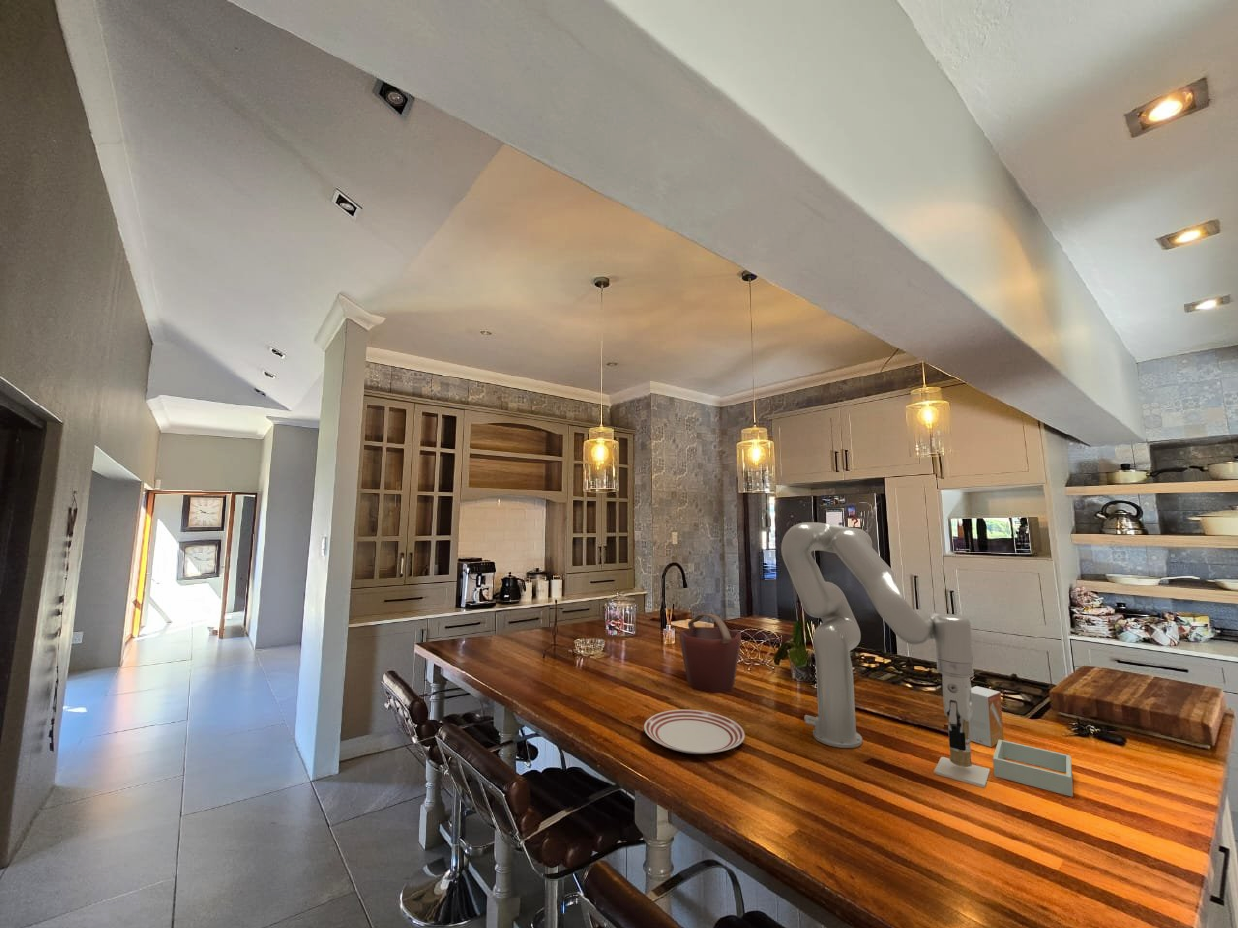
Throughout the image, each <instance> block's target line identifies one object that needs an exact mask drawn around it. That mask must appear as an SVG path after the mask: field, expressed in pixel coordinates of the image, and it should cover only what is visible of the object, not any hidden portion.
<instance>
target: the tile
mask: <svg viewBox="0 0 1238 928" xmlns="http://www.w3.org/2000/svg"><path fill="white" fill-rule="evenodd" d="M990 773H991V769H990V768H988V767H983V766H980V765H975V764H972V766H970V767H962V766H958V765H955V764H953V763H952V762H951V761H950V757H945V756H941V757H940V758H939V761H938V762H937V764H936V766H935V768H934V770H933V774H934V775H938V776H941V777H944V778H948V779H952V780H956V781H958V782H963V783H966V784H969V785H974V786H976V787H981V788H985V789H986V786H987V782H988V780H989V777H990Z"/></svg>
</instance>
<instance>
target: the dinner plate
mask: <svg viewBox="0 0 1238 928" xmlns="http://www.w3.org/2000/svg"><path fill="white" fill-rule="evenodd" d="M643 730H644V732H645V734H646V735H647V736H648V737H649V738H650V739H651V740H652V741H654V742H655V743H657V744H658V745H661V746H663V747H665V748H668V749H670V750H673V751H676V752H681V753H685V754H691V755H692V754H693V755H707V754H716V753H721V752H726V751H729V750H732V749H735V748H737V747H738V746H740V745H742V743H743V742H744V740H745V736H746V733H745V731H744V729H743V728H742V726H741V725H740V724H739V723H737V722H736V721H734V720H732V719H731V718H728V717H726V716H723V715H721V714H717V713H714V712H709V711H705V710H696V709H672V710H666V711H662V712H659V713H656V714H654V715H652V716H650V717H649V718H648V719H647V720H646V721H645V722H644V725H643Z"/></svg>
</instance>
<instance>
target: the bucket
mask: <svg viewBox="0 0 1238 928" xmlns="http://www.w3.org/2000/svg"><path fill="white" fill-rule="evenodd" d="M704 617H708V618H709V619H712V620H713V621H714V623H715V624H716V625H717V627H714V626H713V627H712V626H711V627H710V626H709V627H708V626H707V627H706V626H696V625H695V623H697V622H699V621H700V620H702V619H703V618H704ZM687 626H688V628H686V629H682V630H679V632H678V633H679V635H678V637H679V643H680V648H681V653H682V659H683V665H684V669H685V675H686V680H687V683H688V685H689V686H690V687H691V689H692V690H694V691H699V692H703V693H709V694H717V693H718V694H719V693H727V692H728V693H729V692H732V691H733V689H734V687H735V682H736V681H735V680H736V676H737V669H738V662H739V657H740V651H741V650H740V649H741V644H742V632H741V631H736V630H733V629H729V628H728V626H727V625H726V623H725V622H724V621H723V620H722V619H721V618H720V616H718V615H716V614H713V613H699V614H696V615H695V616H694V617H693V618H691V620H689V621H688V623H687Z"/></svg>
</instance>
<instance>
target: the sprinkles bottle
mask: <svg viewBox="0 0 1238 928" xmlns="http://www.w3.org/2000/svg"><path fill="white" fill-rule="evenodd" d="M948 712H949V711H948ZM957 718H960V716H958V715H957ZM957 723H959V724H960V721H957ZM947 728H948V729H947V730H948V733H949V717H947ZM963 732H964V733H965V743H966V750H965V751H963V750H959V749H955V748H951V747H950V744H949V743H948V744H949V745H948V746H949V753H950V755H949V756H950V757H949V759H950V761H951V762H952V763H953V764H955V765H958V766H962V767H970V766H972V765H973V762H972V752H971V751H972V748H971V741H970V731H969V721H965V720H964V719H963Z"/></svg>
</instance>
